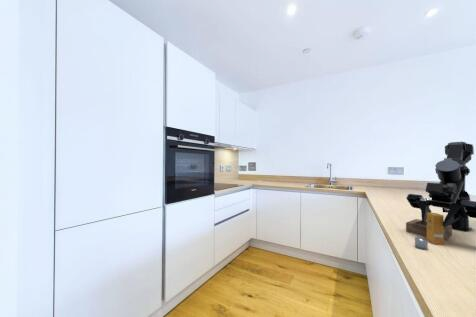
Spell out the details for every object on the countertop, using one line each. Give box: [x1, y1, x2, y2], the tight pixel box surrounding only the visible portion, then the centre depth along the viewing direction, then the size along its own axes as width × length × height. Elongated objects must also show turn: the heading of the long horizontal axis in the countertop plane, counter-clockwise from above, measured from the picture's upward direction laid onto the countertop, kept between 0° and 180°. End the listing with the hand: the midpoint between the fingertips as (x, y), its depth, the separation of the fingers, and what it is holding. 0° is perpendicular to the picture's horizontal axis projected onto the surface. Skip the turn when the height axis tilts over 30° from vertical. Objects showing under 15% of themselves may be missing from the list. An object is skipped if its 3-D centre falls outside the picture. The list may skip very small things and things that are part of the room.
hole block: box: [405, 218, 453, 240], centre depth 76 cm, size 10×10×4 cm
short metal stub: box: [414, 236, 429, 251], centre depth 62 cm, size 3×3×3 cm
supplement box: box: [426, 212, 445, 246], centre depth 66 cm, size 3×3×10 cm
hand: (433, 223), depth 66 cm, fingers open, 5 cm apart
